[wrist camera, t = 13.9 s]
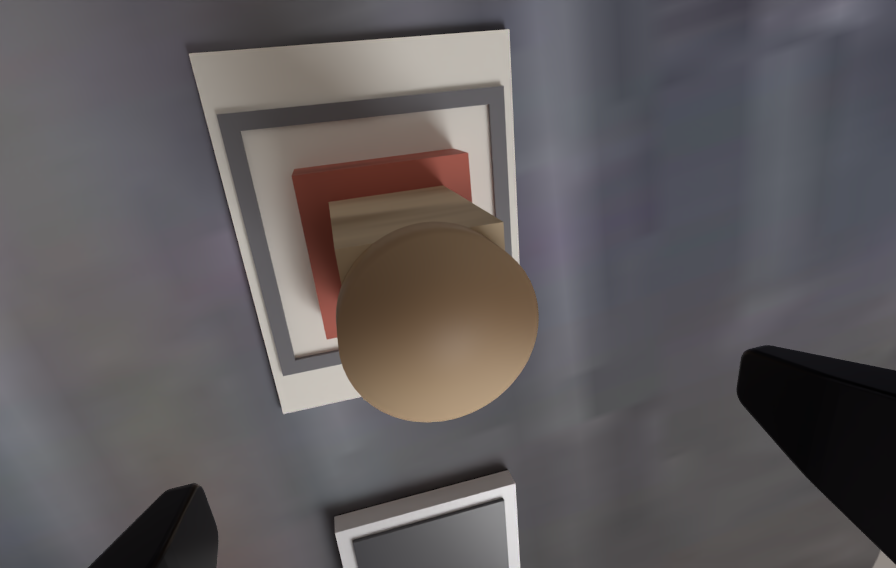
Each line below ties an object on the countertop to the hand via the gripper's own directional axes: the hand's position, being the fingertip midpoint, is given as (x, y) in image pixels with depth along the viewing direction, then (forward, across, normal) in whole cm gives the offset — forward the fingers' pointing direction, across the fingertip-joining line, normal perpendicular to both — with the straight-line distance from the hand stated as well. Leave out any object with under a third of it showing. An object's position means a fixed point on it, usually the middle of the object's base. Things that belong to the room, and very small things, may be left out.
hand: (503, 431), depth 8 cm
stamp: (+13, 0, 0) cm, 13 cm away
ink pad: (+13, 0, +18) cm, 22 cm away
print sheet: (+13, 0, 0) cm, 13 cm away
